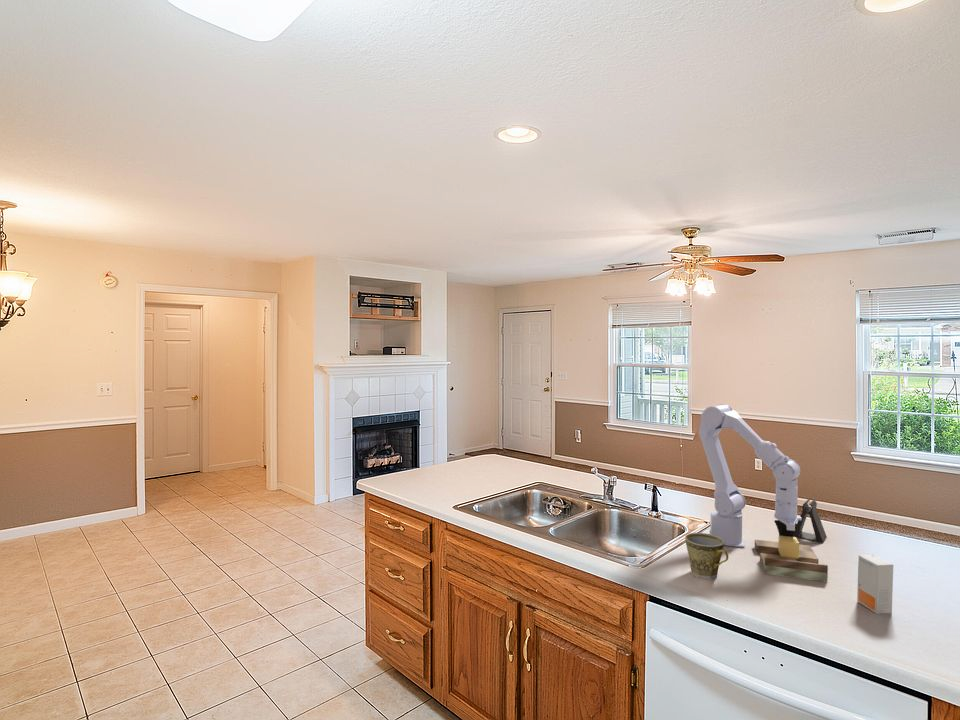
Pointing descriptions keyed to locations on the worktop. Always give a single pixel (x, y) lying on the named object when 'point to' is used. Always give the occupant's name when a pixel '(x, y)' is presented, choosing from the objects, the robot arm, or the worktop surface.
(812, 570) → the box
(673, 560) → the worktop surface
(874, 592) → the skincare box
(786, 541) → the block
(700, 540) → the ceramic cup
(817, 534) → the phone stand
